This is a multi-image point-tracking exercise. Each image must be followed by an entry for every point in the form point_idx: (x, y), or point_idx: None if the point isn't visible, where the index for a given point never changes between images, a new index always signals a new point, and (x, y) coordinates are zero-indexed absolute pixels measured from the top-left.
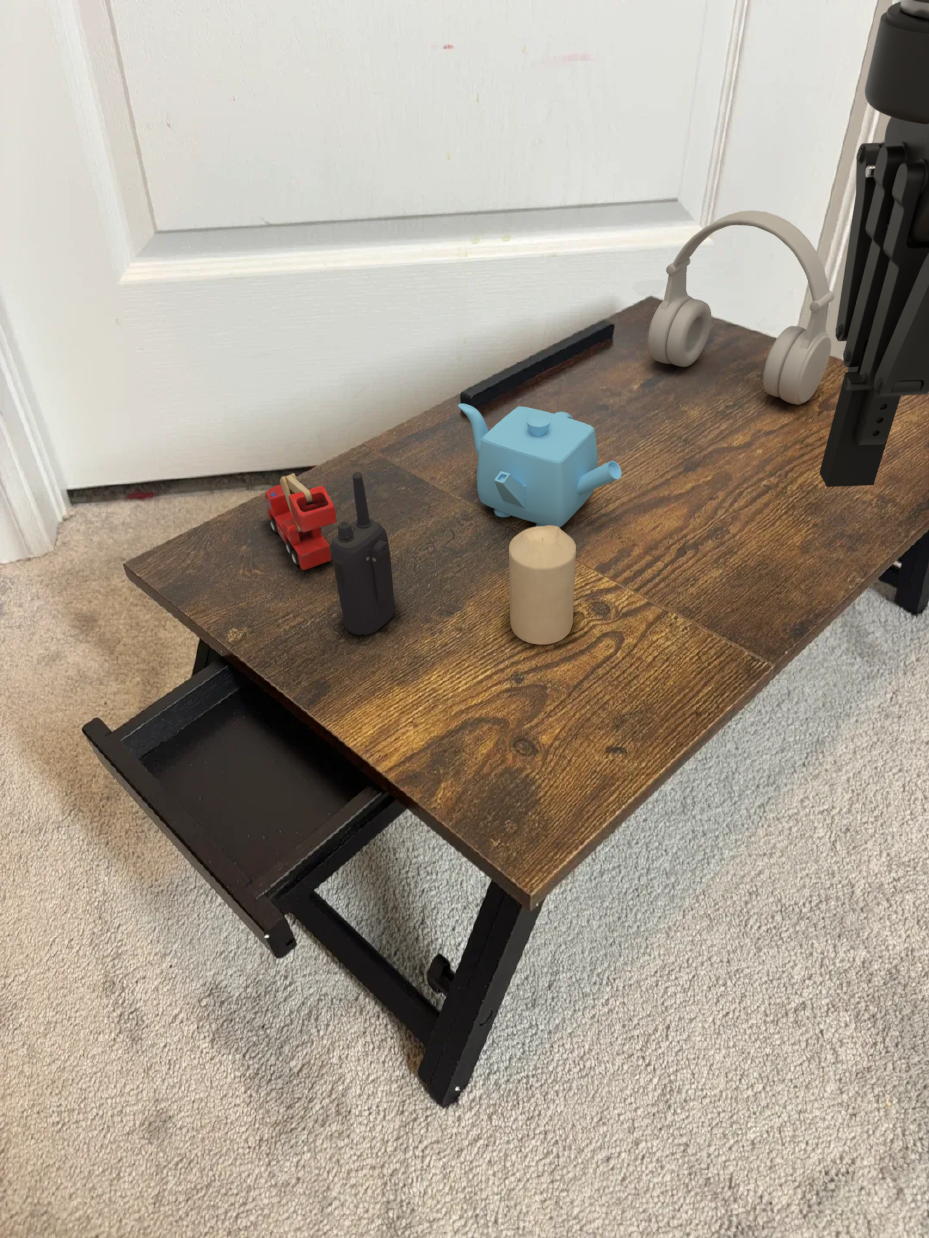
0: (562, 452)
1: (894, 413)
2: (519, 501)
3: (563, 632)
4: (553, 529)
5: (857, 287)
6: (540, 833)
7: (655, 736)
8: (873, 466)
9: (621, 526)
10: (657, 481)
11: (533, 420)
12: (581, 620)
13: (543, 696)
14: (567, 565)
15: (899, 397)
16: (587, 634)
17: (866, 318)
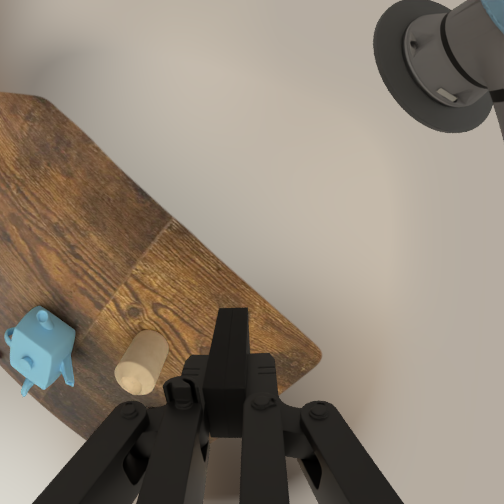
0: (42, 352)
1: (276, 381)
2: (71, 361)
3: (161, 338)
4: (123, 377)
5: (128, 498)
6: (299, 352)
7: (236, 295)
8: (247, 324)
9: (61, 289)
10: (21, 260)
11: (26, 368)
12: (145, 323)
13: (208, 348)
14: (146, 366)
15: (279, 398)
16: (156, 322)
17: (202, 494)
